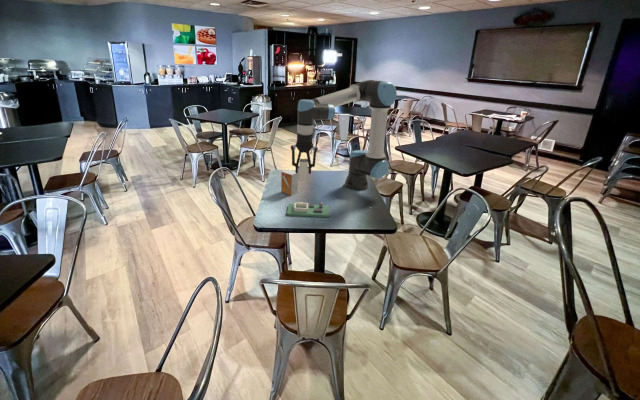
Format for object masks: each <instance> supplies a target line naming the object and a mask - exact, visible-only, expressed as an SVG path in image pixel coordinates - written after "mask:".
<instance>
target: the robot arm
mask: <svg viewBox="0 0 640 400" xmlns="http://www.w3.org/2000/svg"><path fill="white" fill-rule="evenodd" d="M397 95H398V93H397V89H396V86H395V85H394V84H393V83H392V82H389V81H386V80H374V79H367V80H363V81H360V82H357V83H354V84H351V85H349V87H347V88H345V89H342V90H338V91H335V92H332V93H328V94H325V95H322V96H319V97H318V96H317V97H315V98H312V99H300V100H298V104H297V123H296V125H297V126H296V129H297V130H296V132H297V134H296V143H295V144H292V145H290V151H291V165H292V166H293V167H295V170H294V171H295V172H296V173H298V178H297V180H298V181H299V162H300V159H301V156H302V154H303V153H304V154H306V159H308V167H307V181H309V176H310V175H311V174H312V168H315V166H316V160H317V159H316V157H317V152H318V149H319V147H318V146H315V145H314V143H313V132H314V121H328V120H329V121H331V120H333V118H335V116H336V108H337V107H340V106H343V105H347V104H349V103H352V102H353V103H358V102H368V103H369V105H368V107H369V109H371V113H370V114H371V116H370V127H369V128H370V129H369V142H368V150H366V149H357V150H356V149H355V150H353V151H351V152H350V153H349V154H350V155H349V161H348V162H349V163H348V174H347V177H346V179H345V181H344V186H345V187H346V188H348V189H351V190H356V191H358V190H359V191H361V190H366V189H368V188H369V179H368V176H369V177H370V178H373V179H381V178H383V177H384V176H385V175H386V174H387V173H388V170H389V166H390V163H388V161H387V160H386V154H385V153H384V150H385V149H384V147H385V137H386V130H387V119H388V111H389V110H390V109H391V107H392V105H393V104H394V103H395V101H396V99H397ZM296 148H297V150H298V155H297V158H295V157H296V156H295V155H296ZM311 150H313V156H312V161H311V156H310V155H311V154H310V151H311ZM295 161H296V162H295Z"/></svg>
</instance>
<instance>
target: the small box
mask: <svg viewBox="0 0 640 400" xmlns="http://www.w3.org/2000/svg"><path fill="white" fill-rule="evenodd" d="M295 171H296V170H291V169H289V168H288V169H285V170H283V171H282V170H281V173H280V174H281V181H280V182H281V183H280V184H281V185H280V187H281V190H280V191H281V193H284V194H287V195H288V196H294V195H296V194H298V193H299V180H297V178H298V173H296V172H295Z"/></svg>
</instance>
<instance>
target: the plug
mask: <svg viewBox="0 0 640 400" xmlns="http://www.w3.org/2000/svg"><path fill="white" fill-rule="evenodd" d="M298 166H299V180H298V182H308V180H307V167H309V165H308V159H307V158H300V160H299V164H298Z"/></svg>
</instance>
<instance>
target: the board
mask: <svg viewBox="0 0 640 400" xmlns="http://www.w3.org/2000/svg"><path fill="white" fill-rule="evenodd" d="M330 213H331V211H330V205H328V204H324V203H323V202H319V203H318V204H313V203H311V204H309V202H302V201H300V202H294V203H288V206H287V212H286V216H289V217H291V216H292V217H314V218H317V217H318V218H320V217H321V218H331V214H330Z"/></svg>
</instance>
